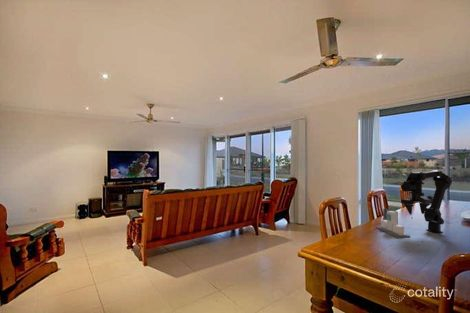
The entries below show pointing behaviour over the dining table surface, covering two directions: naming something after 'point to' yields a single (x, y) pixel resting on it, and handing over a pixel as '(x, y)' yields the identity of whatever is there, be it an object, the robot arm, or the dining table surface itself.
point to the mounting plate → (397, 229)
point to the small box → (386, 214)
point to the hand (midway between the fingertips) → (416, 214)
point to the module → (391, 219)
